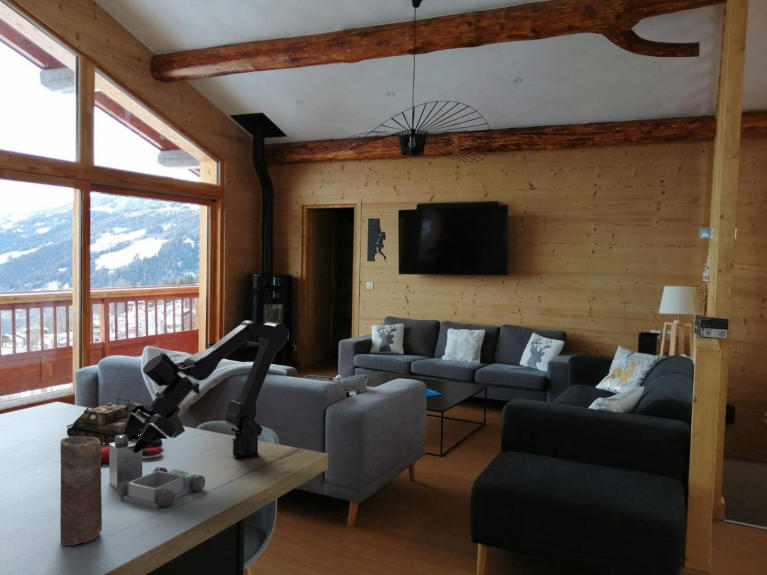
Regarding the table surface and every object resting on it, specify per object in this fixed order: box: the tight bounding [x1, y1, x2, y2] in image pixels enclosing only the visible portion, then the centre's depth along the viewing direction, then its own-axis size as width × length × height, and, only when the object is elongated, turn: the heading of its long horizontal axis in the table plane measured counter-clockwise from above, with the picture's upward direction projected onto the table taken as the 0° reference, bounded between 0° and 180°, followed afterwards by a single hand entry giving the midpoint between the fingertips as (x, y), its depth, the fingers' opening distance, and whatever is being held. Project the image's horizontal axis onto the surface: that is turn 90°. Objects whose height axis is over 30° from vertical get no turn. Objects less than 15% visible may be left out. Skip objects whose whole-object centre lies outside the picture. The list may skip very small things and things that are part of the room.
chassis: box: [118, 466, 206, 509], centre depth 139 cm, size 14×14×4 cm
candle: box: [59, 436, 103, 547], centre depth 116 cm, size 8×7×20 cm
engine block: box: [108, 435, 143, 491], centre depth 145 cm, size 6×6×12 cm
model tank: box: [65, 397, 146, 446], centre depth 181 cm, size 13×22×15 cm, turn 71°
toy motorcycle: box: [101, 439, 164, 464], centre depth 163 cm, size 25×5×16 cm
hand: (127, 447), depth 145 cm, fingers open, 9 cm apart
